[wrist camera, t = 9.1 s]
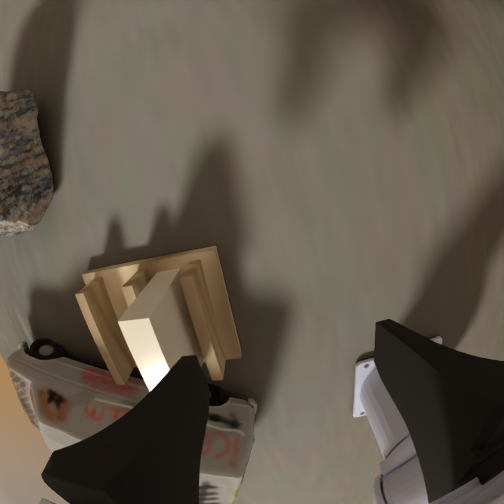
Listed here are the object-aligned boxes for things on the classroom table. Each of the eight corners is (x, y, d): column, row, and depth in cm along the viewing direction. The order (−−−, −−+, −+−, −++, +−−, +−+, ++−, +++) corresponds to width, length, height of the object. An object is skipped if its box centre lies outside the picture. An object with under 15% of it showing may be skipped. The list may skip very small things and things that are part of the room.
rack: (216, 245, 20) (208, 264, 16) (241, 350, 22) (240, 383, 19) (87, 270, 20) (61, 289, 17) (124, 361, 23) (108, 388, 19)
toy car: (29, 329, 23) (-25, 380, 13) (258, 384, 24) (262, 477, 14) (50, 396, 26) (15, 448, 16) (242, 446, 27) (241, 519, 17)
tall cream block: (180, 268, 19) (149, 318, 13) (205, 350, 21) (191, 416, 15) (157, 272, 19) (117, 321, 13) (184, 353, 21) (164, 416, 15)
